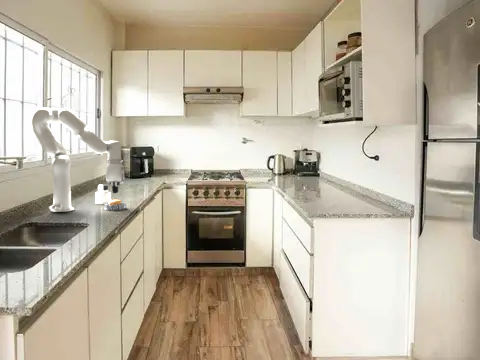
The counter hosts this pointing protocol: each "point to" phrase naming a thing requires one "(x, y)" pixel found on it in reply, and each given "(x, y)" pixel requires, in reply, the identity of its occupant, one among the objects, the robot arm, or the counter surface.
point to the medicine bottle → (102, 195)
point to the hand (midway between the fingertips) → (115, 192)
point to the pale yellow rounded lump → (114, 202)
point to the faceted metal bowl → (115, 206)
